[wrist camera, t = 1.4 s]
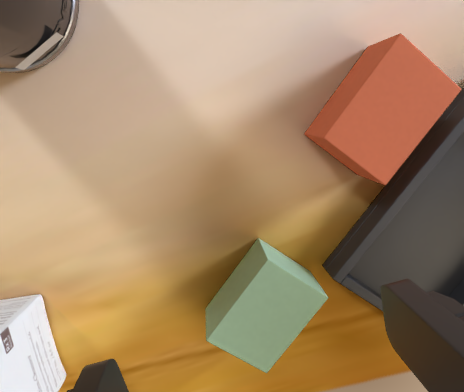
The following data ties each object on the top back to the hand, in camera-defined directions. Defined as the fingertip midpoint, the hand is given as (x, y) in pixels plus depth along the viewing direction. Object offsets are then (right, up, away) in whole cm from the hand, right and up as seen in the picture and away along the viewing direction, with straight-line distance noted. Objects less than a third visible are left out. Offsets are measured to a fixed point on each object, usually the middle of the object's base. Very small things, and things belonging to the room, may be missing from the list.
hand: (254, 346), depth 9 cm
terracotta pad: (+9, +11, +15) cm, 20 cm away
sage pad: (+2, -3, +17) cm, 18 cm away
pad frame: (+17, +3, +17) cm, 24 cm away
